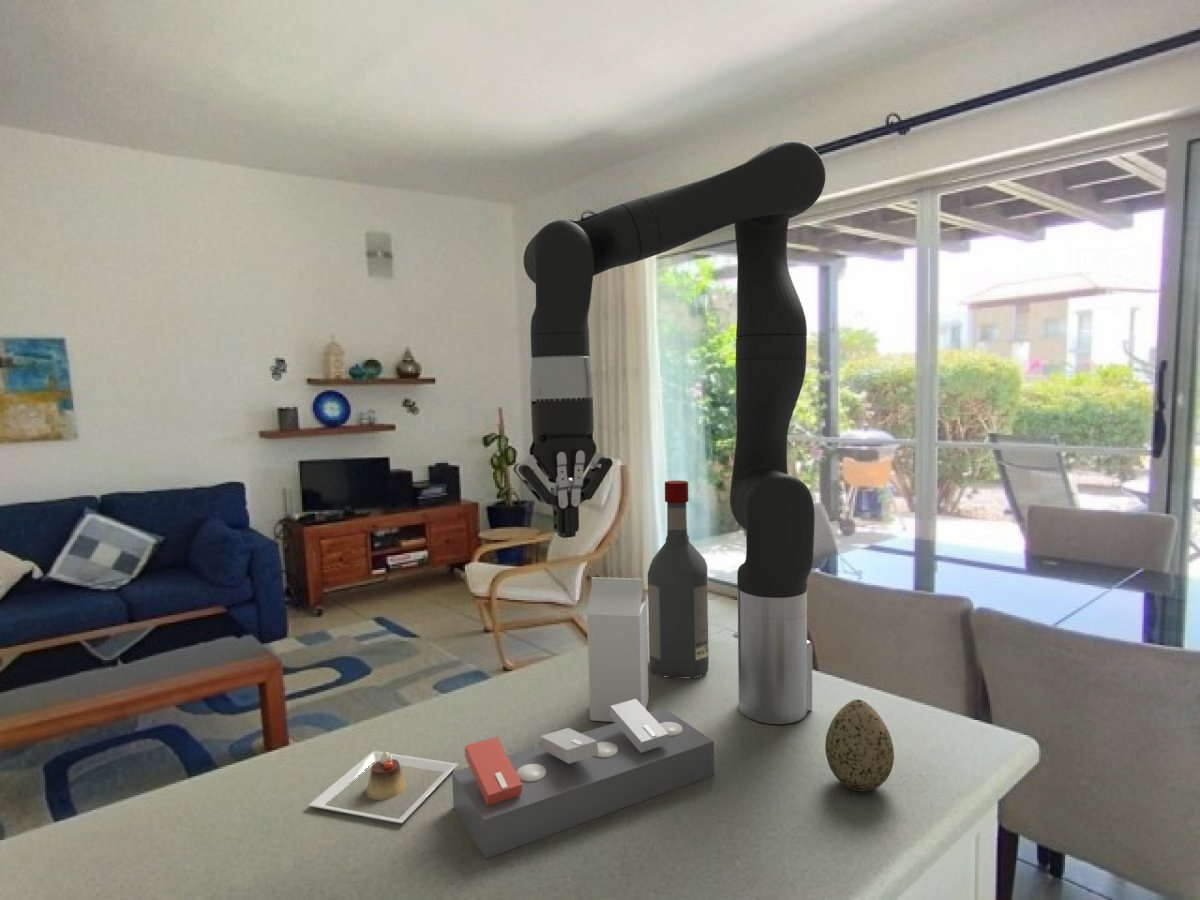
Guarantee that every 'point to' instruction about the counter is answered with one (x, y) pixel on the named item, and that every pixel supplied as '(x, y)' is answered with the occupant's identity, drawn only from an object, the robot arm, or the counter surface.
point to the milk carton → (616, 645)
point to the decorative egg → (859, 747)
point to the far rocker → (638, 725)
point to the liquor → (678, 596)
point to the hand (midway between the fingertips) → (566, 536)
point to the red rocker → (493, 771)
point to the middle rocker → (569, 745)
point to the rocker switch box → (581, 784)
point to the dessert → (384, 781)
